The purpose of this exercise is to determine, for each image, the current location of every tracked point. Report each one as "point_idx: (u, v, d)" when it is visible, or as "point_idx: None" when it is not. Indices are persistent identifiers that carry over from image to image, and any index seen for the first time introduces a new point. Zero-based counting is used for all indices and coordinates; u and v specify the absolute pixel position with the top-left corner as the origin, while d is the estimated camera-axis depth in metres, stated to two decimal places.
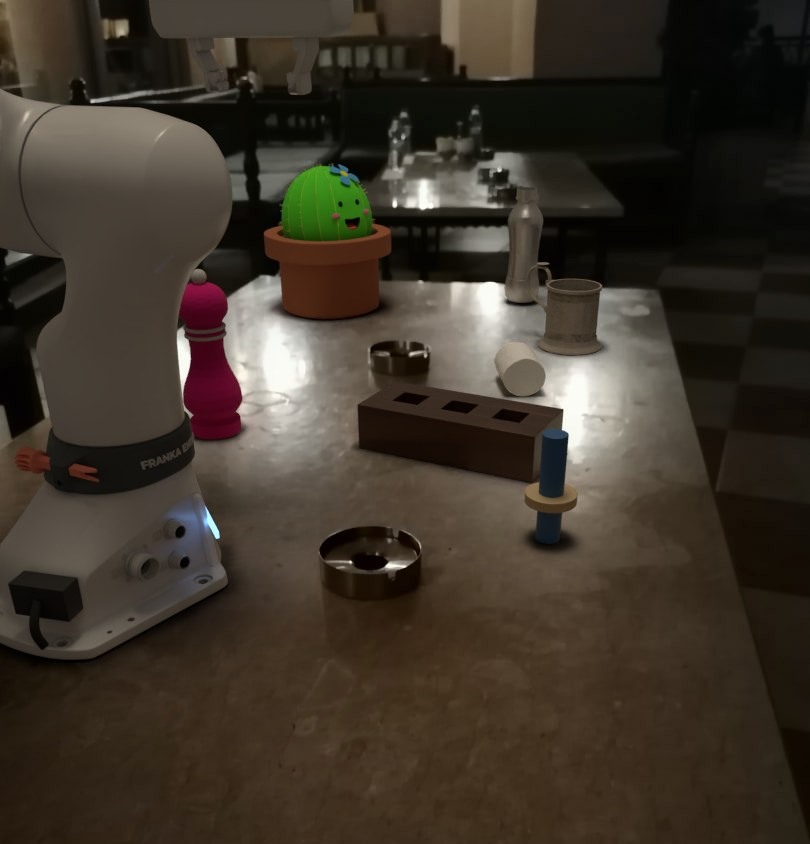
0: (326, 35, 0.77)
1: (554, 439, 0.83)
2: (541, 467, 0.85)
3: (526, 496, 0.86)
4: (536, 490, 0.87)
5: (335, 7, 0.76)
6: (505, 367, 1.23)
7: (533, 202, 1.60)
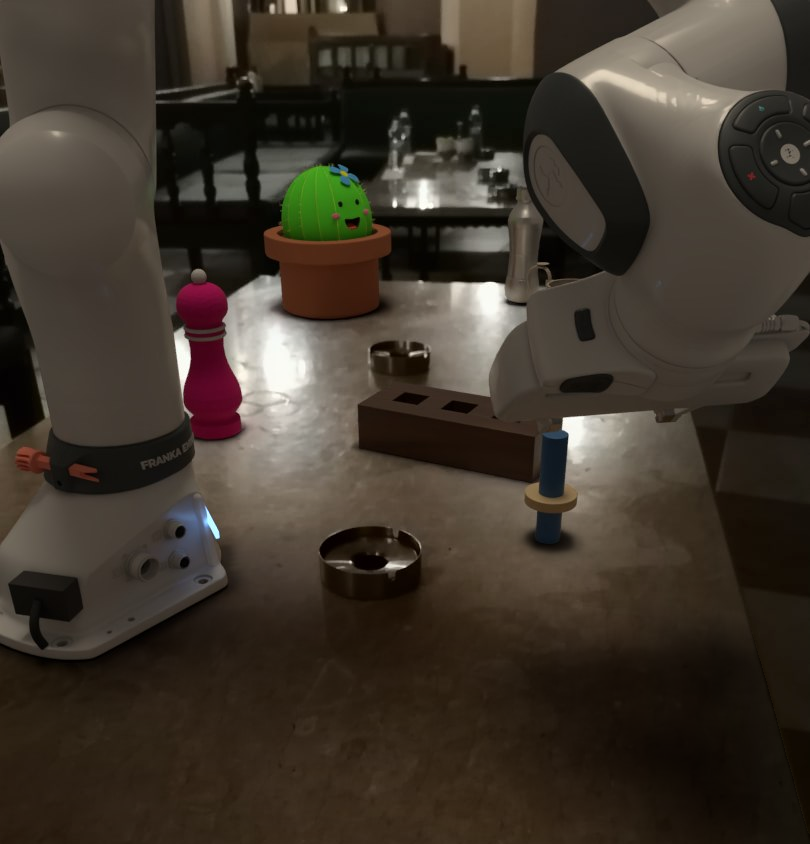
0: None
1: (554, 439, 0.83)
2: (541, 467, 0.85)
3: (526, 496, 0.86)
4: (536, 490, 0.87)
5: (492, 373, 0.63)
6: None
7: None
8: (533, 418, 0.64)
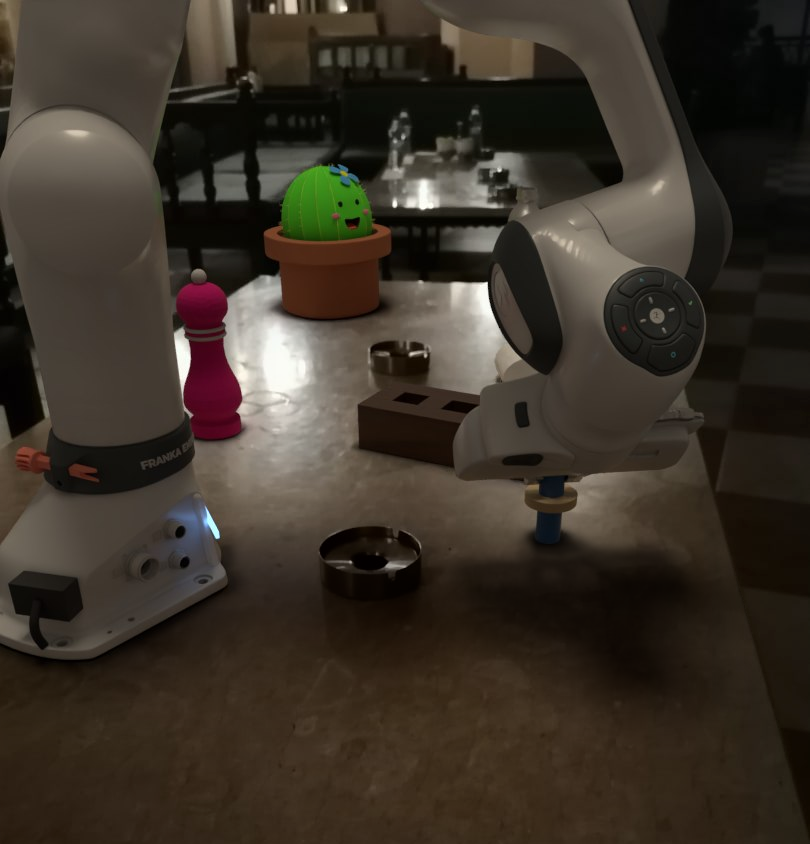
0: None
1: None
2: None
3: (526, 496, 0.86)
4: (536, 490, 0.87)
5: (454, 442, 0.79)
6: (505, 367, 1.23)
7: (533, 202, 1.60)
8: (487, 478, 0.80)
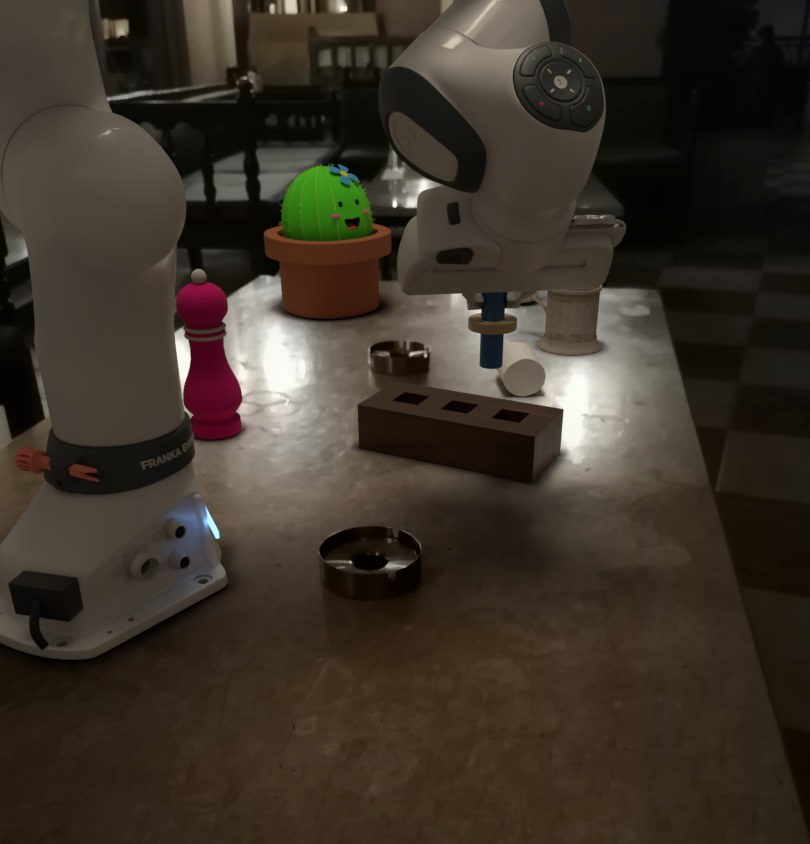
0: None
1: None
2: None
3: (469, 321, 0.93)
4: (479, 317, 0.93)
5: (398, 257, 0.86)
6: (505, 367, 1.23)
7: None
8: (428, 292, 0.86)
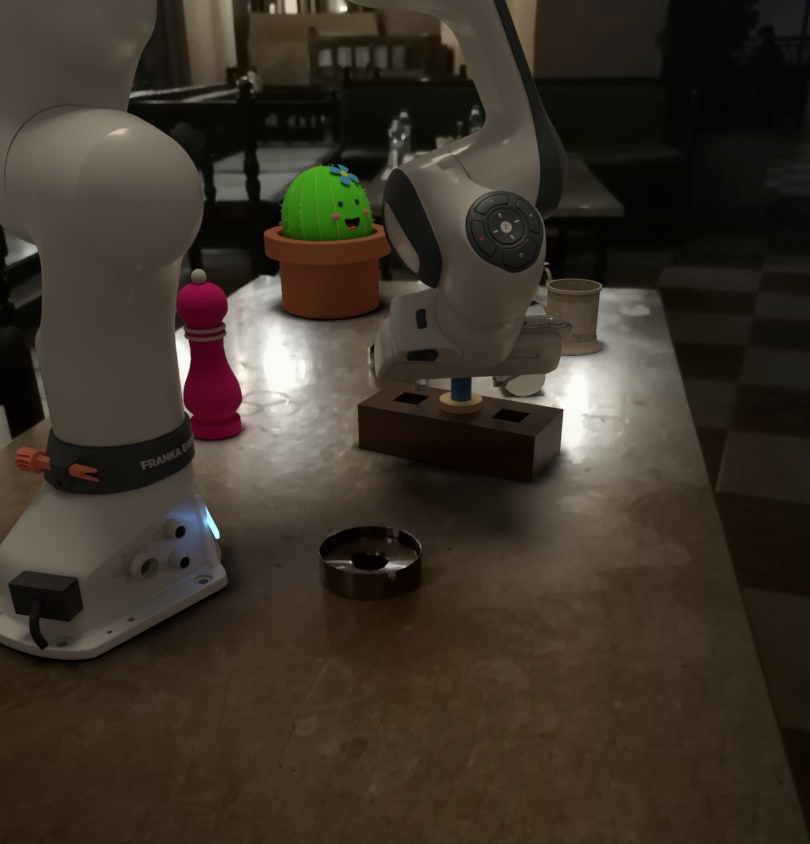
0: None
1: None
2: None
3: (440, 401, 1.05)
4: (449, 397, 1.06)
5: (374, 348, 0.98)
6: None
7: None
8: (401, 379, 0.99)
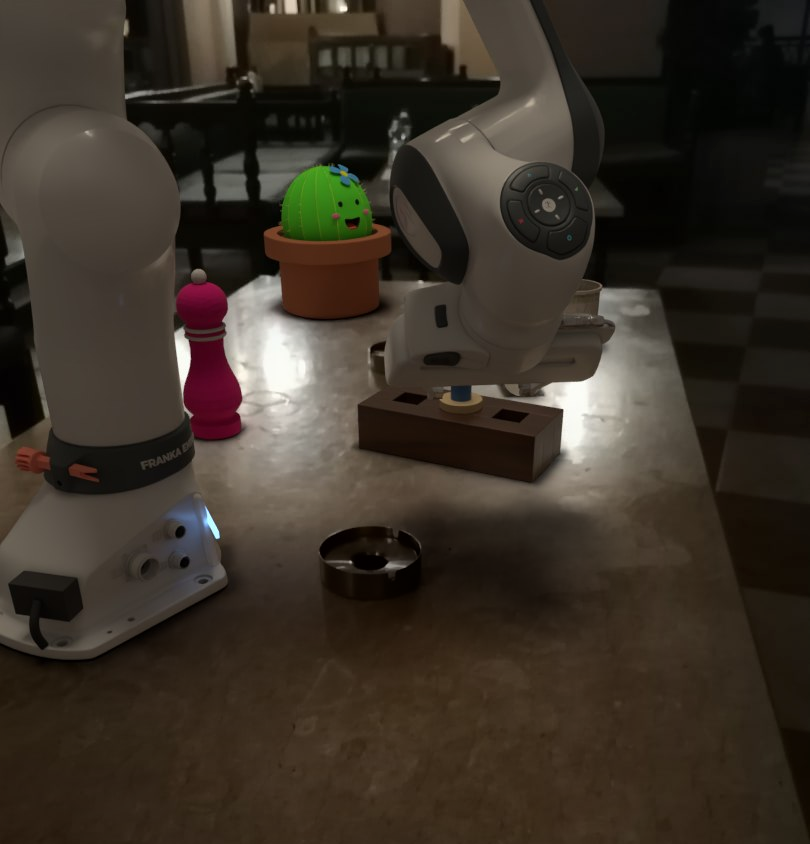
0: None
1: None
2: None
3: (440, 401, 1.05)
4: (449, 397, 1.06)
5: (385, 350, 0.85)
6: None
7: None
8: (416, 386, 0.85)
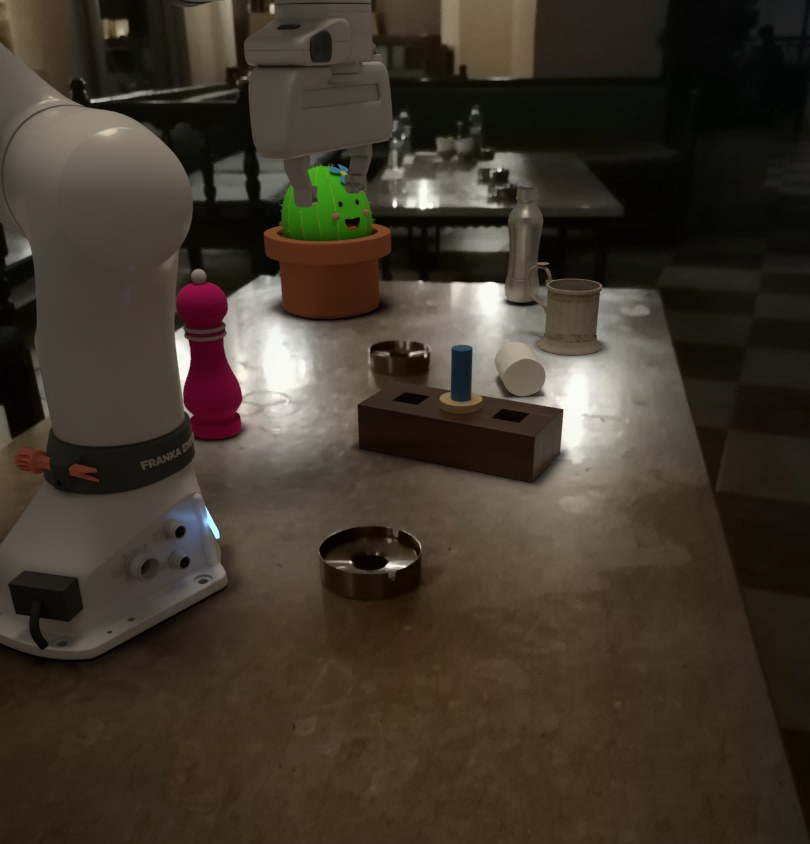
0: (261, 156, 0.82)
1: (460, 351, 1.01)
2: (451, 376, 1.04)
3: (440, 401, 1.05)
4: (449, 397, 1.06)
5: (257, 132, 0.80)
6: (505, 367, 1.23)
7: (533, 202, 1.60)
8: (304, 148, 0.82)
